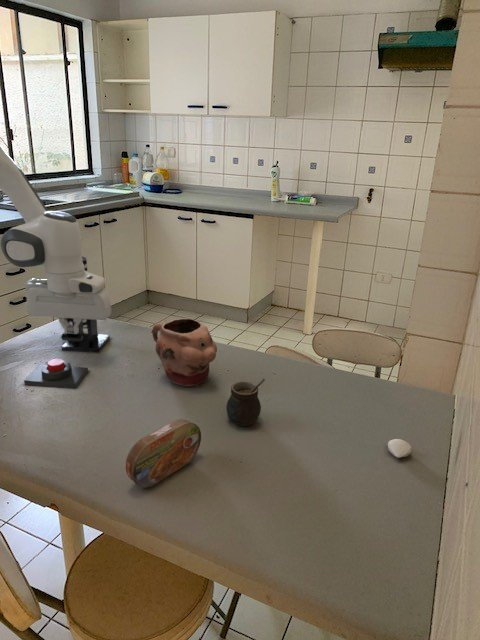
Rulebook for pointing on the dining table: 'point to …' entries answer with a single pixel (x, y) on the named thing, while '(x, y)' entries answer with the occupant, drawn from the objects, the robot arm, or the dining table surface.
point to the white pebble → (399, 448)
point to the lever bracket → (87, 339)
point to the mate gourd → (244, 403)
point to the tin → (163, 452)
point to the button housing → (57, 376)
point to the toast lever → (72, 336)
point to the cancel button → (55, 365)
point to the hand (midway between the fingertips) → (72, 333)
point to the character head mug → (184, 350)
